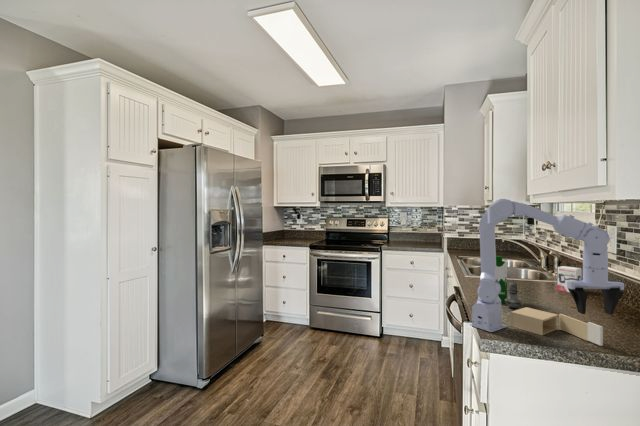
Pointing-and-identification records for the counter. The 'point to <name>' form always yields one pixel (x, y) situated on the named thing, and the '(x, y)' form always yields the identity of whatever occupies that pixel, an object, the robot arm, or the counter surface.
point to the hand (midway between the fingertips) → (595, 313)
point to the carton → (534, 320)
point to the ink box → (567, 276)
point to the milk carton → (502, 277)
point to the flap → (582, 329)
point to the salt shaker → (512, 297)
